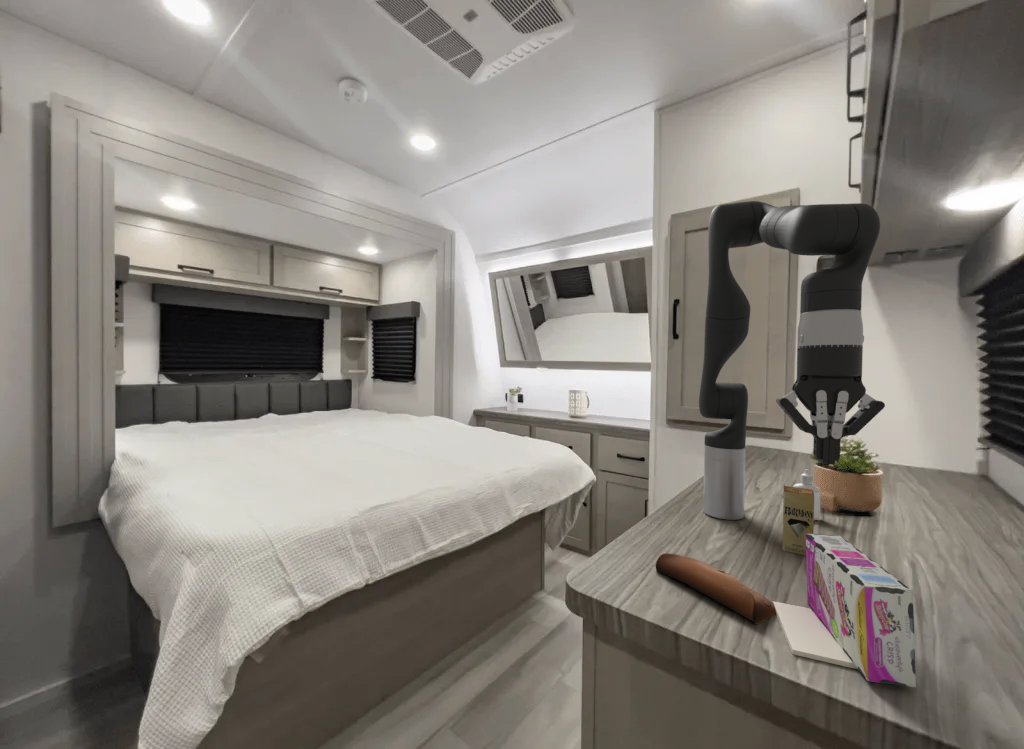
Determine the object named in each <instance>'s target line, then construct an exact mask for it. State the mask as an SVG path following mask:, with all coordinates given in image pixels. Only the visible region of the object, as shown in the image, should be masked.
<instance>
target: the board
mask: <svg viewBox="0 0 1024 749" xmlns="http://www.w3.org/2000/svg"><path fill="white" fill-rule="evenodd" d="M772 602H773V603H774V606H775V610H776V614H775V615H776V617H777V620H778V622H779V625H780V627H781V630H782V632H783V635H784V636H785V640H786V642H787V645H788V647H789V650H790V652H791V654H792V655H794V656H799V657H803V658H808V659H812V660H815V661H820V662H823V663H828V664H829V663H830V664H833V665H838V666H842V667H846V668H851V669H856V670H859V669H858V668H857V667H856V666H855V664H854V663H853V662H852V660H851V659H850V658H849V657H848V655H847V654H846V653H845V652H844V650H843V649H842V648H841V646H840V645H839V644H838V642H837V641H836V640H835V639H834V637H833V636H832V635H831V634H830V632H829V631H828V630H827V628H826V627H825V626H824V625H823V623H822V622H821V621H820V620H819V618H818V617H817V616H816V615H815V613H814V612H813V611H812V610H811V608H810V607H804V606H800V605H793V604H788V603H784V602H783V603H782V602H779V601H774V600H773V601H772Z"/></svg>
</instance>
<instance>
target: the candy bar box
mask: <svg viewBox="0 0 1024 749" xmlns="http://www.w3.org/2000/svg"><path fill="white" fill-rule="evenodd" d="M805 548H806V555H805V562H806V563H805V567H806V570H805V571H806V588H807V590H806V592H807V607H808V608H810V609H811V610H812V611H813V612H814V613H815V615H816V616H817V617H818V618H819V620H820V621H821V622H822V623H823V625H824V626H825V627H826V628H827V630H828V631H829V632H830V634H831V635H832V636H833V637H834V639H835V640H836V641H837V642H838V644H839V645H840V646H841V648H842V649H843V650H844V652H845V653H846V654H847V655H848V657H849V658H850V659H851V660H852V662H853V663H854V664H855V666H856V667H857V668H858V669H857V670H858V671H859V672H860V673H861V675H862V676H863V678H865V680H866V681H867V682H873V683H880V684H887V685H888V684H891V685H897V686H902V687H909V688H910V687H911V688H917V682H916V681H917V677H916V676H917V675H916V648H915V646H916V644H915V616H914V591H913V590H912V589H911V588H910V587H908V586H906V584H904V583H903V582H901V580H899V579H898V578H896V577H895V576H894V575H892V574H891V573H890V572H889V571H887V570H886V569H885V568H883V567H882V566H880V564H878V562H877V563H876V562H875V561H874V560H872V559H871V557H869V556H867V555H866V554H865V553H863V552H862V551H861V550H859V549H858V548H857V547H856V546H855V545H853V544H852V543H850V542H849V541H848V540H846V539H845V538H843V537H842V536H841V535H834V534H817V533H813V534H805Z"/></svg>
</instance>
